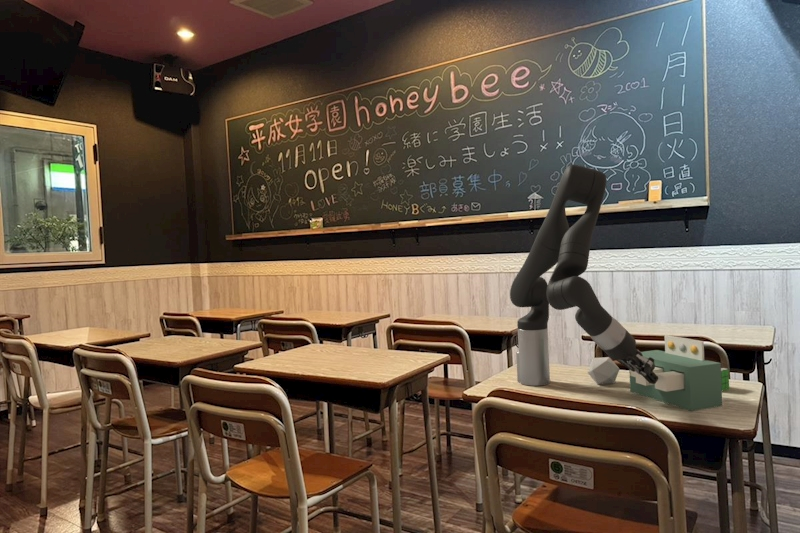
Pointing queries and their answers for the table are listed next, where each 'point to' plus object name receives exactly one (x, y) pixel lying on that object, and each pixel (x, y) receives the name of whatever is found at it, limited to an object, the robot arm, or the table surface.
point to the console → (685, 375)
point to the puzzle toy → (725, 378)
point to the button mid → (643, 381)
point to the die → (603, 370)
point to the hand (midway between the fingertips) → (654, 380)
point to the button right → (670, 381)
